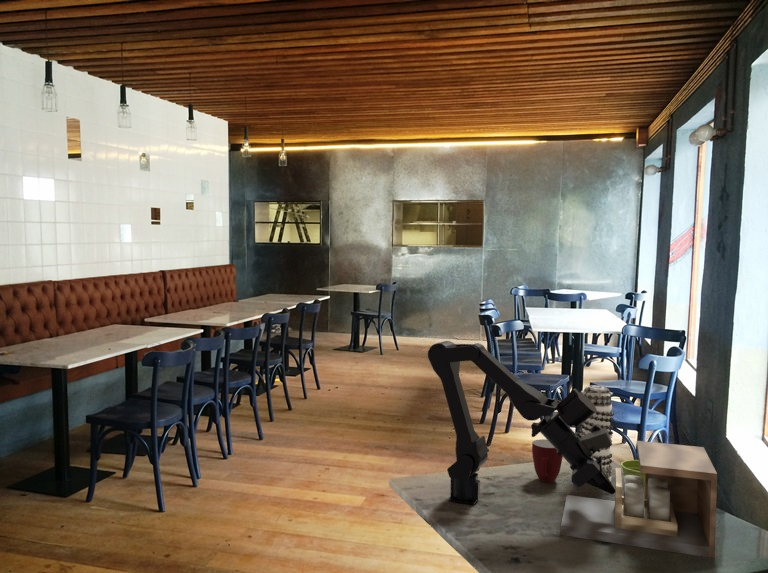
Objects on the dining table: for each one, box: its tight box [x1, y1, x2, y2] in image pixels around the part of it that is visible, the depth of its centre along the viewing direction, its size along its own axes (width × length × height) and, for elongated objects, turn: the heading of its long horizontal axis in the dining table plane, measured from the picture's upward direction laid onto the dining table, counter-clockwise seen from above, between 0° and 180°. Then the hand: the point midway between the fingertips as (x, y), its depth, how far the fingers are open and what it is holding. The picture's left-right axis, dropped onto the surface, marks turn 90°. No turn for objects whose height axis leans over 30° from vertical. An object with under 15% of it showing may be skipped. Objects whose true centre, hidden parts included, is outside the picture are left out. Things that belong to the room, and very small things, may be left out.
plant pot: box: [620, 459, 645, 499], centre depth 153 cm, size 9×9×9 cm
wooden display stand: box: [560, 440, 718, 559], centre depth 137 cm, size 30×19×17 cm, turn 70°
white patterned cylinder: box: [579, 384, 615, 482], centre depth 169 cm, size 9×9×25 cm
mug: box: [531, 438, 564, 484], centre depth 165 cm, size 10×8×10 cm
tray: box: [614, 467, 677, 537], centre depth 136 cm, size 12×13×9 cm
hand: (614, 492), depth 138 cm, fingers closed
